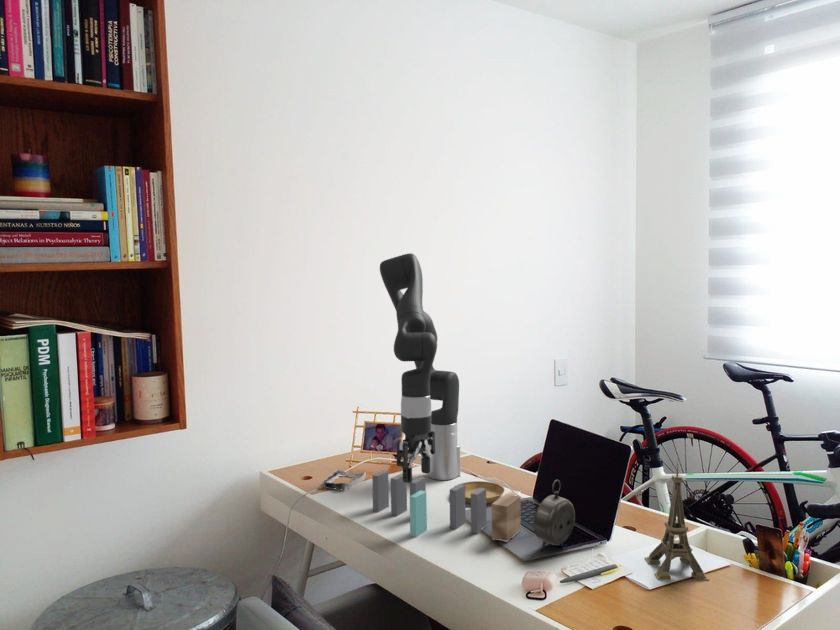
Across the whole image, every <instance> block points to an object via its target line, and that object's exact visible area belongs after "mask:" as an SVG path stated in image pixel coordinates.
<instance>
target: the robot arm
mask: <svg viewBox="0 0 840 630" xmlns="http://www.w3.org/2000/svg"><path fill="white" fill-rule="evenodd" d="M379 273H380V276H381V279H382V282H383V284H384V287H385V289H386V291H387V293H388V296H389V298H390V300H391V302H392V305H393V307H394V309H395V311H396V321H397V332H396V336H395V339H394V344H393V353H394V356H395V357H396V359H398V360H399V361H400V362H413V363H414V365H415V368H414V369H410V370H406V371H404V372H403V373H402V374H401V399H400V431H401V433H402V434H403V435H404V440H403V441H400V440H399V441H397V442H396V466H397V467H401V468H402V474H403V481H404V482H406V483H407V484H410V482H412V481H413V467H412V465H413V463H414V461H415V460H416V459H417V456H418V455H420V456H421V459H420V460H421V461H420V462H421V463H420V464H421V465H420V466H421V469H420V470H421V473H423V474H428V477H429V478H430V479H433V480H438V481H447V480H452V479H453V480H454V479H455V478H458V477H460V476H461V446H460V444H458V414H459V404H460V403H459V401H460V400H459V399H460V380H459V377H458V374H457V373H456V372H454V371H447V370H437V369H435V368H434V366H433V364H434V360H435V358H436V357H435V356H436V354H437V349H438V334H437V331H436V327H435V325H434V321H433V319H432V318H431V316H430V314H429V313H427V312H426V311H424V308H423V307H424V306H423V292H424V290H423V288H424V287H423V283H424V282H423V272H422V268H421V264H420V261H419V260H418V257H417V256H416V254H414V253H411V252H410V253H405V254H402V255H398V256H394V257H391V258H389V259H385V260H382V261H381V263H380V265H379ZM402 290H405V292H404V293H403V292H402ZM432 400H433V401H442V404H441V405H442V406H441V407H440V408H438V409H434V410H432Z"/></svg>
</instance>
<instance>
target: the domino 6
mask: <svg viewBox="0 0 840 630" xmlns="http://www.w3.org/2000/svg"><path fill="white" fill-rule="evenodd" d="M485 525H486V526H487V504H486V489H484V488H479V489H477V490H475V491H474V492H472V493H471V503H470V533H472V534H475V535H476V534H477V535H478V534H479V533H481V532H482V531H481V528H482V527H484V526H485Z"/></svg>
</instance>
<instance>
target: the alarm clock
mask: <svg viewBox="0 0 840 630" xmlns="http://www.w3.org/2000/svg"><path fill="white" fill-rule="evenodd" d="M556 482H558V484H559V487H558V491H557V490H556V491H555V490H554V489H555V488H554V487H555V484H556ZM561 485H562V484H561V480H559V479H555V480H554V481H553V483H552V485H551V488H552V493H553V494H550V495H548V496H546V497H545V498H544V499H543V500H542V501H541V503H540V504H539V506H538V508H537V509H536V512H535V516H534V521H533V522H534V527H533V528H534V533H535V535H536V537H537V539H538V540H540V541H542V544H541V547H540V549H541V548H543V549H544V547H545V546H546V544H550V545H552V546H562V545H563V546H564V543H565V542H566V541H567V540H568V539H569V537H570V536H571V534H572V531H573V529H574V525H575V521H576V511H575V508H574V505H573V503H572V502H571V501H570V500H569V499H567V498H564V497H561V496H559V492H560V490H561V488H562V487H561Z"/></svg>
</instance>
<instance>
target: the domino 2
mask: <svg viewBox="0 0 840 630" xmlns="http://www.w3.org/2000/svg"><path fill="white" fill-rule="evenodd" d="M407 484H408V483H406V482H404V481H403V473H399V474H397V475H395V476H393V477H391V478H390V508H391V510H390V511H391V513H390V514H391V516H393V517H399V516H400V515H401V514H404V513H406V512H407V511H408V494H407V493H408V489H407V488H408V485H407Z"/></svg>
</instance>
